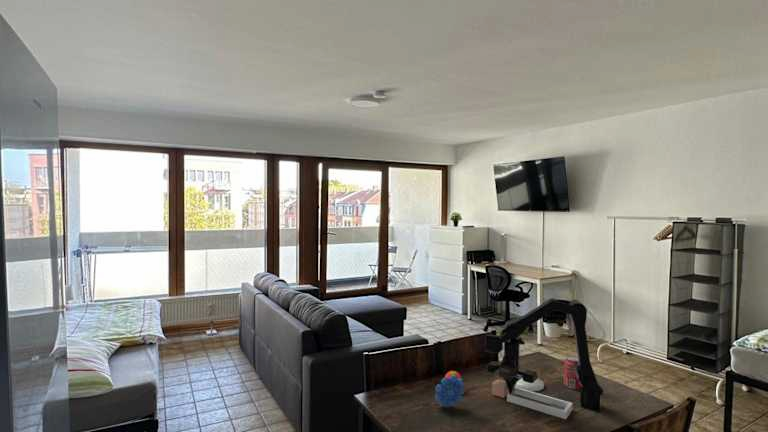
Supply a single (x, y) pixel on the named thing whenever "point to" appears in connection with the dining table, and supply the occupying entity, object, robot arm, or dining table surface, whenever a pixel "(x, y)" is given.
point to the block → (500, 388)
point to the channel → (555, 408)
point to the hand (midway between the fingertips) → (510, 393)
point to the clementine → (453, 374)
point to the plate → (530, 385)
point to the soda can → (571, 373)
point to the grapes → (449, 391)
